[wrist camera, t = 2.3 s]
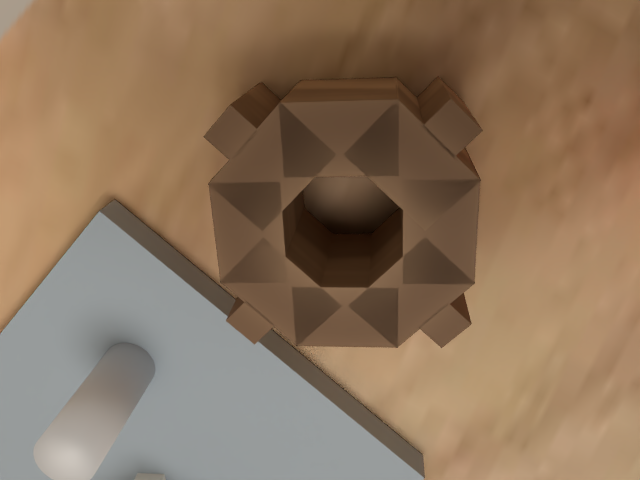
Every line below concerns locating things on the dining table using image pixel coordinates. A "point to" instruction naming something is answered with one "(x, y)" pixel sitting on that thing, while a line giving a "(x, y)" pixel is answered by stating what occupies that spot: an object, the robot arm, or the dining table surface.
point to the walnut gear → (347, 249)
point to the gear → (149, 476)
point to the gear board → (168, 380)
